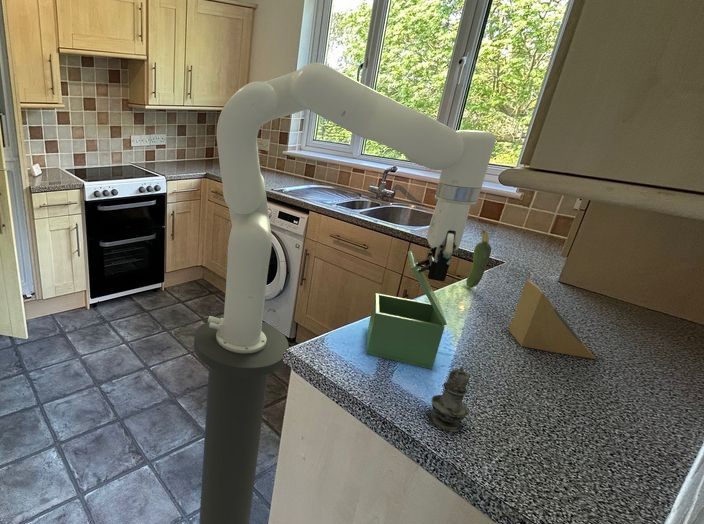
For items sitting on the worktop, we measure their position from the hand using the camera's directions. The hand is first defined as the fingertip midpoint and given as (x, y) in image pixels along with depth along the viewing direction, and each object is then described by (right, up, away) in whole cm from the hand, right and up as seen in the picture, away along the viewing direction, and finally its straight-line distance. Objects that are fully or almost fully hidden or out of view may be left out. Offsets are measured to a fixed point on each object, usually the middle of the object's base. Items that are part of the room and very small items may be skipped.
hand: (434, 274), depth 89 cm
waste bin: (-4, -18, +8) cm, 20 cm away
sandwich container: (+37, -18, +13) cm, 43 cm away
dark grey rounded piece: (-6, -27, -14) cm, 31 cm away
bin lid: (-1, -3, +2) cm, 4 cm away
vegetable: (+38, -7, +43) cm, 58 cm away
